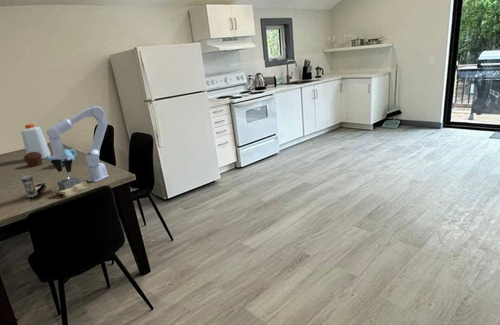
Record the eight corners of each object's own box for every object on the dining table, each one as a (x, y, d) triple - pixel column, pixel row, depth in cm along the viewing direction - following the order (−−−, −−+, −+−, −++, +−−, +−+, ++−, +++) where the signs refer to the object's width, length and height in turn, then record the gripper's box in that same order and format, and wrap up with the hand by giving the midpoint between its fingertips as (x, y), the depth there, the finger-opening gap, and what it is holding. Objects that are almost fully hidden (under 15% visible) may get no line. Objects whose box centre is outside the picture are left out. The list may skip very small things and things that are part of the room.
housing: (76, 181, 182) (73, 173, 180) (82, 182, 180) (79, 174, 178) (56, 190, 171) (53, 181, 170) (62, 190, 169) (60, 182, 168)
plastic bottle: (31, 158, 264) (20, 125, 256) (51, 154, 270) (41, 121, 261) (27, 162, 251) (15, 127, 242) (49, 158, 257) (38, 124, 248)
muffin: (29, 168, 233) (25, 155, 230) (24, 166, 239) (19, 154, 236) (47, 163, 242) (43, 150, 239) (41, 161, 248) (37, 149, 245)
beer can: (28, 198, 172) (20, 178, 168) (27, 196, 176) (20, 176, 172) (38, 196, 175) (31, 175, 171) (37, 193, 178) (31, 173, 175)
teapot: (78, 159, 245) (73, 144, 241) (81, 163, 232) (76, 147, 228) (48, 165, 235) (43, 150, 231) (49, 170, 221) (44, 154, 218)
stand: (75, 185, 184) (74, 180, 184) (88, 186, 180) (86, 181, 180) (53, 195, 172) (52, 190, 172) (66, 197, 168) (64, 191, 167)
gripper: (42, 150, 176) (49, 173, 181) (60, 151, 171) (67, 174, 175) (54, 146, 182) (61, 169, 187) (71, 147, 177) (78, 170, 181)
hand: (64, 171), depth 181 cm, fingers open, 7 cm apart
